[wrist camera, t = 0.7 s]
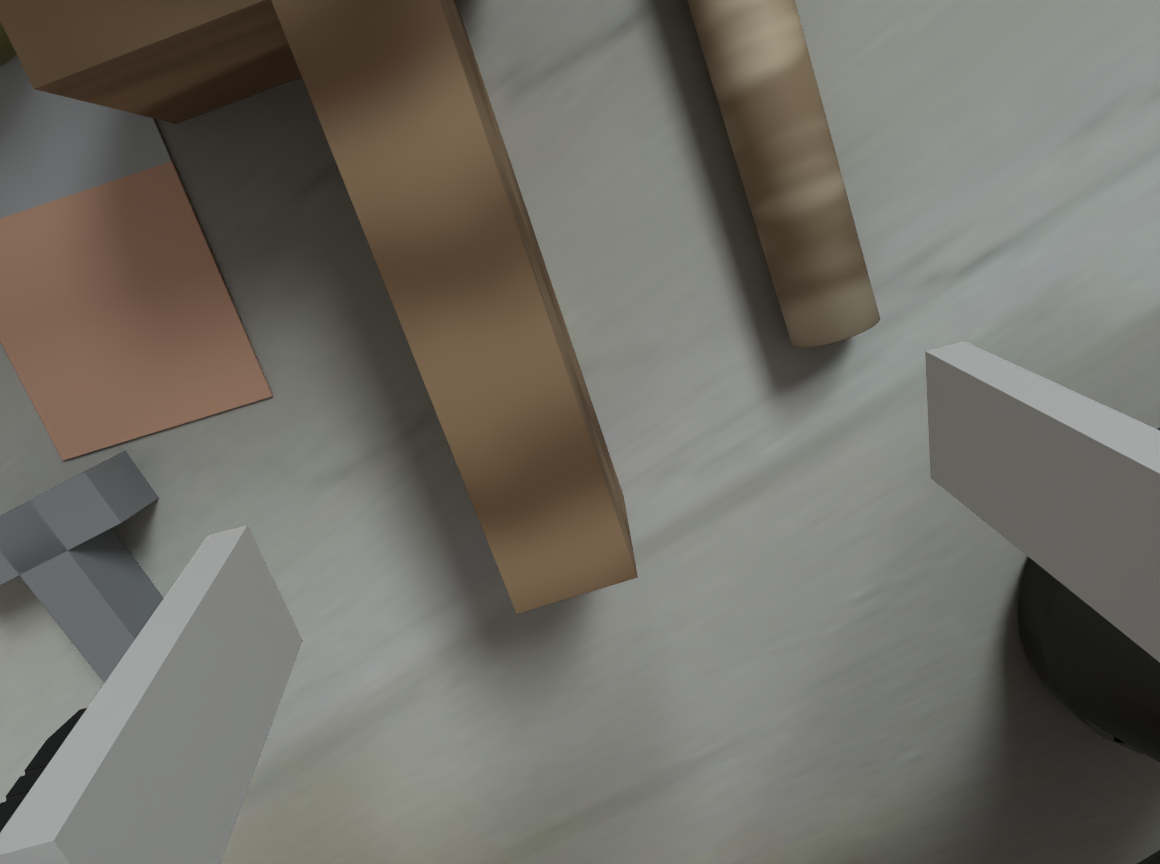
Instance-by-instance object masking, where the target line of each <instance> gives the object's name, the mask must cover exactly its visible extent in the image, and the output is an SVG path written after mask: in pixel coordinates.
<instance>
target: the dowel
mask: <svg viewBox="0 0 1160 864" xmlns="http://www.w3.org/2000/svg"><path fill="white" fill-rule="evenodd" d="M687 2H688V5H689V8H690V12H691V15H692V18H693V22H694V25H695V28H696V31H697V35H698V38H699V41H700V45H701V48H702V51H703V54H704V58H705V61H706V64H707V68H708V71H709V74H710V77H711V81H712V84H713V87H714V91H715V94H716V97H717V100H718V104H719V107H720V110H721V114H722V117H723V120H724V123H725V127H726V130H727V133H728V137H729V140H730V143H731V146H732V150H733V153H734V156H735V160H736V163H737V166H738V169H739V173H740V176H741V179H742V183H743V186H744V189H745V192H746V196H747V199H748V202H749V206H750V209H751V212H752V215H753V219H754V222H755V225H756V229H757V232H758V235H759V238H760V242H761V245H762V248H763V252H764V255H765V258H766V261H767V265H768V268H769V271H770V275H771V278H772V281H773V284H774V288H775V291H776V294H777V298H778V301H779V304H780V307H781V311H782V314H783V317H784V321H785V324H786V327H787V330H788V334H789V337H790V340H791V344H792V346H794V347H798V348H808V347H816V346H822V345H826V344H831V343H834V342H838V341H841V340H844V339H847V338H850V337H853V336H855V335H858V334H860V333H862V332H864V331H866V330H868V329H870V328H872V327H873V326H874V325H876V324H877V323H878V322H879V321H880V317H879V313H878V309H877V305H876V302H875V298H874V294H873V290H872V287H871V283H870V279H869V276H868V272H867V268H866V264H865V261H864V257H863V253H862V250H861V246H860V242H859V238H858V235H857V231H856V227H855V223H854V220H853V216H852V212H851V209H850V205H849V201H848V197H847V194H846V190H845V186H844V183H843V179H842V175H841V171H840V168H839V164H838V160H837V156H836V153H835V149H834V145H833V142H832V138H831V134H830V130H829V127H828V123H827V119H826V115H825V112H824V108H823V104H822V101H821V97H820V93H819V89H818V86H817V82H816V78H815V75H814V71H813V67H812V63H811V60H810V56H809V52H808V48H807V45H806V41H805V37H804V34H803V30H802V26H801V22H800V19H799V15H798V11H797V8H796V4H795V0H687Z"/></svg>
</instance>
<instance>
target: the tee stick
mask: <svg viewBox="0 0 1160 864" xmlns="http://www.w3.org/2000/svg"><path fill="white" fill-rule="evenodd" d="M156 499H158V496H157V495H156V493H155V492H154V491H153V489H152V488H151V486H150V485H149V484H148V482H147V481H146V479H145V478H144V477H143V475H142V474H141V472H140V471H139V470H138V468H137V467H136V465H135V464H134V462H133V461H132V460H131V458H130V457H129V455H128V454H127V453H126V451H124V452H122V453H120V454H118V455H116V456H114V457H112V458H110V459H108V460H106V461H104V462H102V463H100V464H99V465H97V466H95V467H93V468H91V469H89V470H87V471H85V472H83V473H81V474H79V475H77V476H75V477H73V478H72V479H70V480H68V481H66V482H64V483H62V484H60V485H58V486H56V487H55V488H53V489H51V490H49V491H47V492H45V493H43V494H41V495H39V496H37V497H36V498H34V499H32V500H30V501H28V502H26V503H24V504H22V505H20V506H19V507H17V508H15V509H13V510H11V511H9V512H7V513H5V514H3V515H1V516H0V585H1V584H3V583H5V582H7V581H9V580H11V579H13V578H15V577H17V576H19V575H20V577H21V578H22V579H23V580H24V582H25V583H26V584H27V585H28V587H29V588H30V589H31V591H32V592H33V593H34V594H35V596H36V597H37V598H38V599H39V601H40V602H41V603H42V604H43V606H44V607H45V608H46V610H47V611H48V612H49V613H50V615H51V616H52V617H53V618H54V620H55V621H56V622H57V623H58V625H59V626H60V627H61V629H62V630H63V631H64V632H65V634H66V635H67V636H68V637H69V639H70V640H71V641H72V642H73V644H74V645H75V646H76V648H77V649H78V650H79V651H80V653H81V654H82V655H83V656H84V658H85V659H86V660H87V661H88V663H89V664H90V665H91V667H92V668H93V669H94V670H95V672H96V673H97V674H98V675H99V677H100V678H101V679H102V681H103V682H104V683H105V682H106V680H107V679H108V678H109V676H110V675H111V673H112V672H113V670H114V669H115V668H116V666H117V665H118V663H119V662H120V660H121V659H122V658H123V656H124V655H125V653H126V652H127V650H128V649H129V647H130V646H131V645H132V643H133V642H134V640H135V639H136V637H137V636H138V635H139V633H140V632H141V630H142V629H143V627H144V626H145V625H146V623H147V622H148V620H149V619H150V617H151V616H152V614H153V613H154V612H155V610H156V609H157V607H158V606H159V604H160V603H161V602H162V600H163V599H164V598H163V597H162V595H161V594H160V592H159V591H158V590H157V588H156V587H155V586H154V584H153V583H152V582H151V580H150V579H149V578H148V576H147V575H146V573H145V572H144V571H143V569H142V568H141V567H140V565H139V564H138V563H137V561H136V560H135V558H134V557H133V556H132V554H131V553H130V552H129V550H128V549H127V548H126V546H125V545H124V544H123V542H122V541H121V539H120V538H119V537H118V535H117V534H116V533H115V531H114V530H113V529H112V527H114V526H116V525H118V524H120V523H122V522H123V521H125V520H126V519H128V518H129V517H131V516H132V515H134V514H135V513H137V512H138V511H140V510H141V509H143V508H144V507H146V506H147V505H149V504H150V503H152V502H153V501H155V500H156Z"/></svg>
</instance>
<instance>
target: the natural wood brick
mask: <svg viewBox="0 0 1160 864" xmlns="http://www.w3.org/2000/svg"><path fill="white" fill-rule="evenodd" d="M0 21H1V23H2V25H3V27H4V29H5V32H6V34H7V36H8V38H9V40H10V42H11V44H12V46H13V48H14V50H15V52H16V54H17V56H18V58H19V60H20V62H21V64H22V66H23V68H24V70H25V72H26V74H27V76H28V78H29V80H30V82H31V84H32V86H33V88H34V89H35V90H39V91H44V92H48V93H52V94H56V95H60V96H64V97H68V98H72V99H76V100H80V101H84V102H89V103H93V104H97V105H101V106H105V107H109V108H113V109H117V110H121V111H125V112H130V113H134V114H138V115H142V116H146V117H150V118H154V119H158V120H162V121H166V122H170V123H175V124H177V123H179V122H182V121H185V120H187V119H190V118H193V117H195V116H198V115H201V114H203V113H206V112H209V111H211V110H214V109H217V108H219V107H222V106H225V105H227V104H230V103H233V102H235V101H238V100H241V99H243V98H246V97H249V96H251V95H254V94H257V93H259V92H262V91H265V90H267V89H270V88H273V87H275V86H278V85H281V84H283V83H286V82H289V81H291V80H294V79H297V78H299V77H302V78H303V81H304V83H305V86H306V88H307V91H308V93H309V96H310V98H311V101H312V103H313V106H314V108H315V111H316V113H317V116H318V118H319V121H320V123H321V126H322V128H323V131H324V133H325V136H326V138H327V141H328V144H329V146H330V149H331V151H332V154H333V156H334V159H335V161H336V164H337V166H338V169H339V171H340V174H341V176H342V179H343V181H344V184H345V186H346V189H347V191H348V194H349V196H350V199H351V201H352V204H353V206H354V209H355V211H356V214H357V216H358V219H359V221H360V224H361V226H362V229H363V231H364V234H365V236H366V239H367V241H368V244H369V246H370V249H371V251H372V254H373V256H374V259H375V261H376V264H377V266H378V269H379V271H380V274H381V276H382V279H383V281H384V284H385V286H386V289H387V291H388V294H389V296H390V299H391V301H392V304H393V306H394V309H395V311H396V314H397V316H398V319H399V321H400V324H401V326H402V329H403V331H404V334H405V336H406V339H407V341H408V344H409V346H410V349H411V351H412V354H413V356H414V359H415V361H416V364H417V366H418V369H419V371H420V374H421V376H422V379H423V381H424V384H425V386H426V389H427V391H428V394H429V396H430V399H431V401H432V404H433V406H434V409H435V411H436V414H437V416H438V419H439V421H440V424H441V426H442V429H443V431H444V434H445V436H446V439H447V441H448V444H449V446H450V449H451V451H452V454H453V456H454V459H455V461H456V464H457V466H458V469H459V471H460V474H461V476H462V479H463V481H464V484H465V486H466V489H467V491H468V494H469V496H470V499H471V501H472V504H473V507H474V509H475V512H476V514H477V517H478V519H479V522H480V524H481V527H482V529H483V532H484V534H485V537H486V539H487V542H488V544H489V547H490V549H491V552H492V554H493V557H494V559H495V562H496V564H497V567H498V569H499V572H500V574H501V577H502V579H503V582H504V584H505V587H506V589H507V592H508V594H509V597H510V599H511V602H512V604H513V607H514V609H515V612H516V614H518V613H522V612H525V611H528V610H531V609H535V608H538V607H541V606H545V605H548V604H551V603H554V602H558V601H561V600H564V599H568V598H571V597H574V596H578V595H581V594H584V593H587V592H591V591H594V590H597V589H601V588H604V587H607V586H610V585H614V584H617V583H620V582H624V581H627V580H630V579H634V578H637V577H638V576H637V570H636V565H635V559H634V553H633V548H632V542H631V536H630V531H629V525H628V519H627V513H626V508H625V502H624V496H623V493H622V490H621V487H620V484H619V481H618V479H617V476H616V473H615V470H614V467H613V464H612V461H611V458H610V455H609V452H608V449H607V446H606V443H605V440H604V437H603V434H602V431H601V428H600V425H599V422H598V419H597V416H596V413H595V411H594V408H593V405H592V402H591V399H590V396H589V393H588V390H587V387H586V384H585V381H584V378H583V375H582V372H581V369H580V366H579V363H578V360H577V357H576V354H575V351H574V348H573V345H572V343H571V340H570V337H569V334H568V331H567V328H566V325H565V322H564V319H563V316H562V313H561V310H560V307H559V304H558V301H557V298H556V295H555V292H554V289H553V286H552V283H551V280H550V277H549V275H548V272H547V269H546V266H545V263H544V260H543V257H542V254H541V251H540V248H539V245H538V242H537V239H536V236H535V233H534V230H533V227H532V224H531V221H530V218H529V215H528V212H527V209H526V207H525V204H524V201H523V198H522V195H521V192H520V189H519V186H518V183H517V180H516V177H515V174H514V171H513V168H512V165H511V162H510V159H509V156H508V153H507V150H506V147H505V144H504V141H503V139H502V136H501V133H500V130H499V127H498V124H497V121H496V118H495V115H494V112H493V109H492V106H491V103H490V100H489V97H488V94H487V91H486V88H485V85H484V82H483V79H482V76H481V73H480V71H479V68H478V65H477V62H476V59H475V56H474V53H473V50H472V47H471V44H470V41H469V38H468V35H467V32H466V29H465V26H464V23H463V20H462V17H461V14H460V11H459V8H458V5H457V3H456V0H0Z"/></svg>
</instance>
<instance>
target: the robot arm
mask: <svg viewBox="0 0 1160 864" xmlns="http://www.w3.org/2000/svg"><path fill="white" fill-rule="evenodd" d="M925 353H926V376H927V400H928V423H929V446H930V470H931V479H933V480H934V481H935V482H936V483H938V484H939V485H940V486H941V487H943V488H944V489H945V490H946V491H948V492H949V493H950V494H951V495H953V496H954V497H955V498H956V499H958V500H959V501H960V502H961V503H963V504H964V505H965V506H966V507H967V508H969V509H970V510H971V511H972V512H974V513H975V514H976V515H977V516H979V517H980V518H981V519H982V520H984V521H985V522H986V523H987V524H989V525H990V526H991V527H992V528H994V529H995V530H996V531H997V532H999V533H1000V534H1001V535H1002V536H1003V537H1005V538H1006V539H1007V540H1008V541H1010V542H1011V543H1012V544H1013V545H1015V546H1016V547H1017V548H1018V549H1020V550H1021V551H1022V552H1023V553H1025V554H1026V555H1027V556H1028V557H1030V561H1029V564H1028V566H1027V569H1026V572H1025V575H1024V579H1023V583H1022V587H1021V593H1020V600H1019V626H1020V633H1021V638H1022V643H1023V646H1024V649H1025V652H1026V655H1027V657H1028V660H1029V662H1030V664H1031V666H1032V668H1033V669H1034V671H1035V673H1036V674H1037V676H1038V677H1039V679H1040V680H1041V681H1042V682H1043V684H1044V685H1045V686H1046V687H1047V688H1048V689H1049V690H1050V691H1051V692H1052V693H1053V694H1054V695H1055V696H1056V697H1057V698H1058V699H1059V700H1060V701H1061V702H1062V703H1063V704H1064V705H1065V706H1066V707H1067V708H1068V709H1069V710H1070V711H1071V712H1072V713H1073V714H1074V715H1075V716H1076V717H1077V718H1079V719H1080V720H1081V721H1082V722H1083V723H1084V724H1086V725H1087V726H1089V727H1090V728H1091V729H1093V730H1094V731H1095V732H1097V733H1099V734H1100V735H1102V736H1103V737H1105V738H1107V739H1109V740H1111V741H1113V742H1115V743H1117V744H1120V745H1122V746H1125V747H1127V748H1129V749H1131V750H1133V751H1136V752H1139V753H1142V754H1146V755H1148V756H1149V757H1151V758H1153V759H1155V760H1157V761H1158V762H1160V428H1158V429H1155V428H1153V427H1151V426H1149V425H1147V424H1144V423H1142V422H1140V421H1138V420H1136V419H1133V418H1131V417H1129V416H1127V415H1125V414H1122V413H1120V412H1118V411H1116V410H1114V409H1112V408H1109V407H1107V406H1105V405H1103V404H1101V403H1098V402H1096V401H1094V400H1092V399H1090V398H1088V397H1085V396H1083V395H1081V394H1079V393H1077V392H1074V391H1072V390H1070V389H1068V388H1066V387H1064V386H1061V385H1059V384H1057V383H1055V382H1053V381H1050V380H1048V379H1046V378H1044V377H1042V376H1039V375H1037V374H1035V373H1033V372H1031V371H1029V370H1026V369H1024V368H1022V367H1020V366H1018V365H1015V364H1013V363H1011V362H1009V361H1007V360H1005V359H1002V358H1000V357H998V356H996V355H994V354H991V353H989V352H987V351H985V350H983V349H981V348H978V347H976V346H974V345H972V344H970V343H967V342H965V341H963V342H959V343H956V344H952V345H948V346H944V347H940V348H936V349H932V350H928V351H925ZM302 641H303V640H302V638H301V636H300V634H299V632H298V630H297V628H296V626H295V623H294V621H293V619H292V617H291V615H290V613H289V611H288V609H287V607H286V605H285V603H284V600H283V598H282V596H281V594H280V592H279V590H278V588H277V586H276V584H275V582H274V579H273V577H272V575H271V573H270V571H269V569H268V567H267V565H266V563H265V561H264V559H263V556H262V554H261V552H260V550H259V548H258V546H257V544H256V542H255V540H254V538H253V535H252V533H251V531H250V529H249V527H248V525H246V526H242V527H238V528H235V529H231V530H227V531H223V532H219V533H215V534H211V535H208V536H207V537H206V538H205V540H204V541H203V543H202V544H201V546H200V547H199V548H198V550H197V551H196V553H195V554H194V556H193V557H192V559H191V560H190V561H189V563H188V564H187V566H186V567H185V569H184V570H183V571H182V573H181V574H180V576H179V577H178V579H177V580H176V581H175V583H174V584H173V586H172V587H171V589H170V590H169V592H168V593H167V594H166V596H165V597H164V599H163V600H162V602H161V603H160V604H159V606H158V607H157V609H156V610H155V612H154V613H153V614H152V616H151V617H150V619H149V620H148V622H147V623H146V625H145V626H144V627H143V629H142V630H141V632H140V633H139V635H138V636H137V637H136V639H135V640H134V642H133V643H132V645H131V646H130V647H129V649H128V650H127V652H126V653H125V655H124V656H123V658H122V659H121V660H120V662H119V663H118V665H117V666H116V668H115V669H114V670H113V672H112V673H111V675H110V676H109V678H108V679H107V680H106V682H105V683H104V685H103V686H102V688H101V689H100V690H99V692H98V693H97V695H96V696H95V698H94V699H93V701H92V702H91V703H90V705H89V706H88V708H85V709H81V710H79V711H78V712H77V713H76V714H75V715H73V716H72V717H71V718H70V719H69V720H68V721H67V722H66V723H65V724H64V725H63V726H61V727H60V728H59V729H58V730H57V731H56V732H55V733H54V734H53V735H52V736H50V737H49V738H48V739H47V740H46V742H45V743H44V744H43V746H42V747H41V749H40V750H39V751H38V753H37V754H36V755H35V757H34V758H33V760H32V761H31V762H30V764H29V765H28V767H27V768H26V769H25V776H21V777H20V778H19V779H18V780H17V782H16V783H15V784H14V786H13V787H12V789H11V790H10V791H9V793H8V794H7V795H6V798H7V799H6V802H3V803H1V804H0V864H220V862H221V859H222V856H223V854H224V851H225V848H226V846H227V843H228V840H229V838H230V835H231V832H232V829H233V827H234V824H235V821H236V819H237V816H238V813H239V811H240V808H241V805H242V802H243V800H244V797H245V794H246V792H247V789H248V786H249V784H250V781H251V778H252V775H253V773H254V770H255V767H256V765H257V762H258V759H259V757H260V754H261V751H262V748H263V746H264V743H265V740H266V738H267V735H268V732H269V730H270V727H271V724H272V722H273V719H274V716H275V713H276V711H277V708H278V705H279V703H280V700H281V697H282V695H283V692H284V689H285V686H286V684H287V681H288V678H289V676H290V673H291V670H292V668H293V665H294V662H295V659H296V657H297V654H298V651H299V649H300V646H301V643H302ZM1137 864H1160V850H1159V851H1157V852H1156V853H1154V854H1152V855H1151V856H1149V857H1147V858H1146V859H1144V860H1142V861H1141V862H1139V863H1137Z"/></svg>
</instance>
